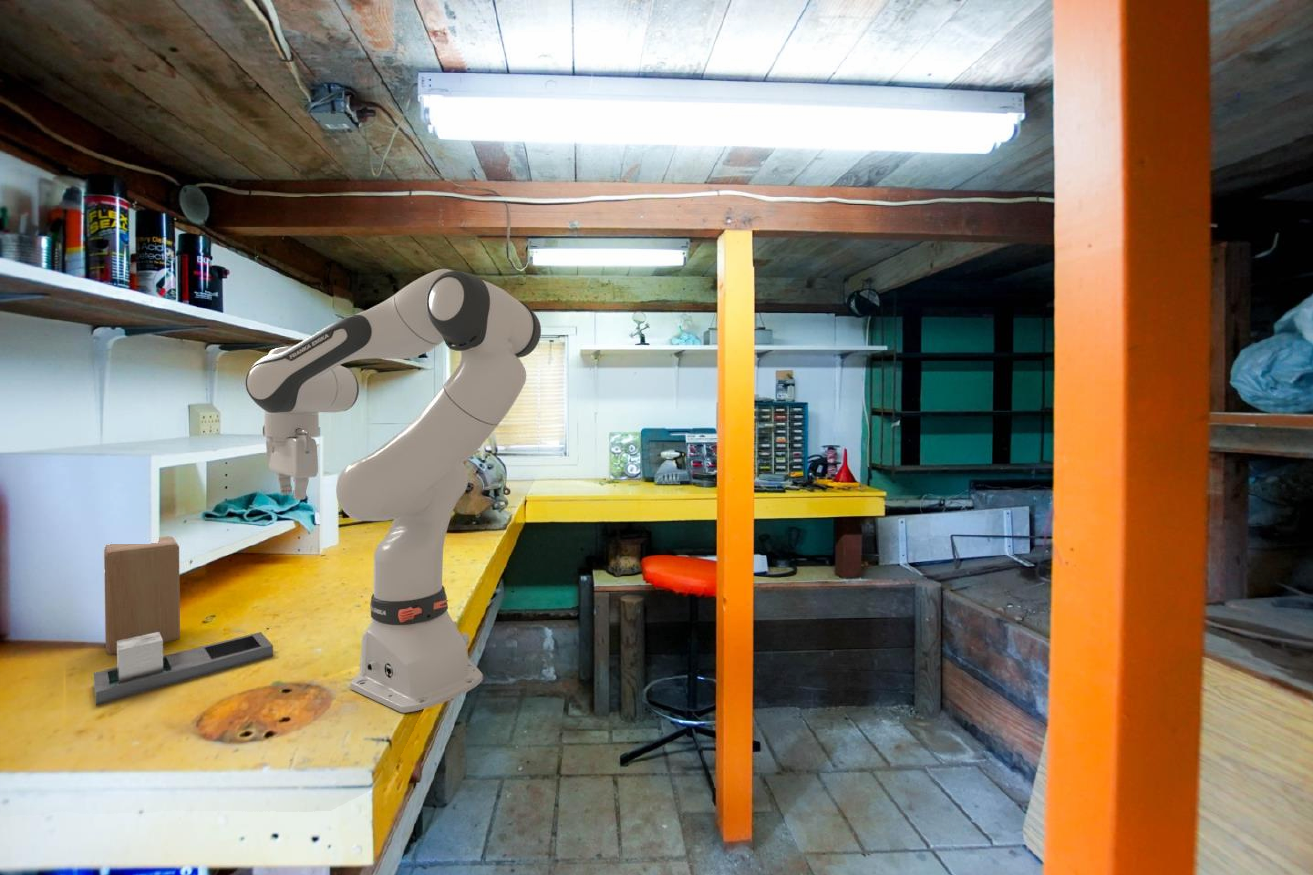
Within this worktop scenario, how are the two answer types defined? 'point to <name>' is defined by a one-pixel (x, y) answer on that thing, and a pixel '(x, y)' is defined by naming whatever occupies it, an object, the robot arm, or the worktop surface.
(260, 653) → the gray slotted tray
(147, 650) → the white upright block
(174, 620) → the wooden block
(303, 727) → the worktop surface
